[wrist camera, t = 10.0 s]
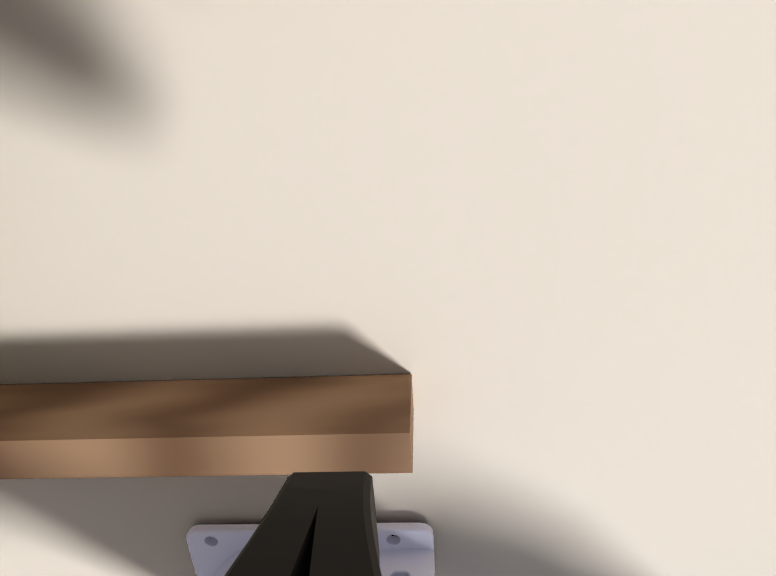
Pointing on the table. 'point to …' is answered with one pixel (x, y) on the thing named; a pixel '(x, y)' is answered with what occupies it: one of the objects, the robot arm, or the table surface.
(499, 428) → the table surface
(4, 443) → the bay
